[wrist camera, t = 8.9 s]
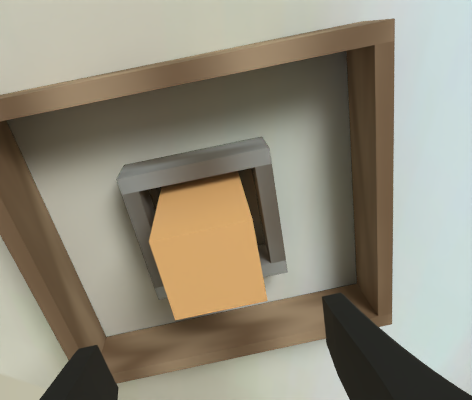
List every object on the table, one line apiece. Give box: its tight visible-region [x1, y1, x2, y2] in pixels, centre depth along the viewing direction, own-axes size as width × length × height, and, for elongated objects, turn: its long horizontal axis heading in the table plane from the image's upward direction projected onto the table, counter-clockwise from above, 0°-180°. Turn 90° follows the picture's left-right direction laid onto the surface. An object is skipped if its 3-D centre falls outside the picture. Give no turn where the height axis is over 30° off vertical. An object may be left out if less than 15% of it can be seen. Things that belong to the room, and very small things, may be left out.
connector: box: [149, 171, 267, 320], centre depth 17 cm, size 4×4×6 cm
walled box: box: [0, 19, 395, 383], centre depth 18 cm, size 18×16×3 cm
